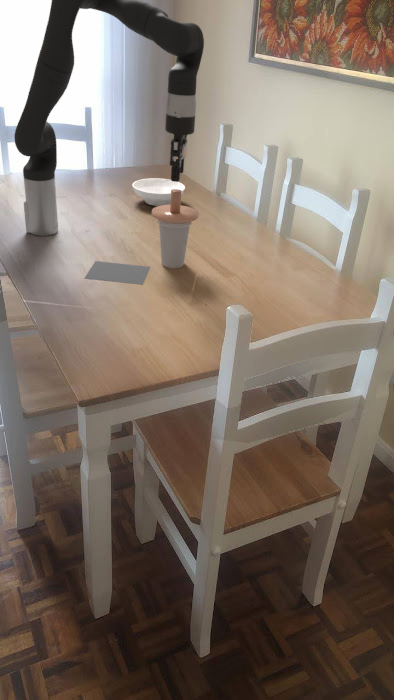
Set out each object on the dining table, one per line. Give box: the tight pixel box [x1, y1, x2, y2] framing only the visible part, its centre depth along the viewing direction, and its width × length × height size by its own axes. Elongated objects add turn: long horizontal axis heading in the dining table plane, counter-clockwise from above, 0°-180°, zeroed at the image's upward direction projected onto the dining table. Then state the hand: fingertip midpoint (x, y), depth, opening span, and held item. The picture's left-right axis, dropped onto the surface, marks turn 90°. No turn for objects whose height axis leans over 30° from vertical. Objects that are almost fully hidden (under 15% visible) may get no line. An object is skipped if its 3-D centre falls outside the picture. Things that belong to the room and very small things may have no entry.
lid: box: [151, 189, 199, 223], centre depth 158 cm, size 13×13×7 cm
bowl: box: [132, 177, 186, 207], centre depth 213 cm, size 20×20×7 cm
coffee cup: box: [157, 219, 193, 269], centre depth 164 cm, size 10×10×15 cm
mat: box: [84, 260, 151, 285], centre depth 160 cm, size 16×12×1 cm
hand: (177, 176), depth 154 cm, fingers open, 8 cm apart
